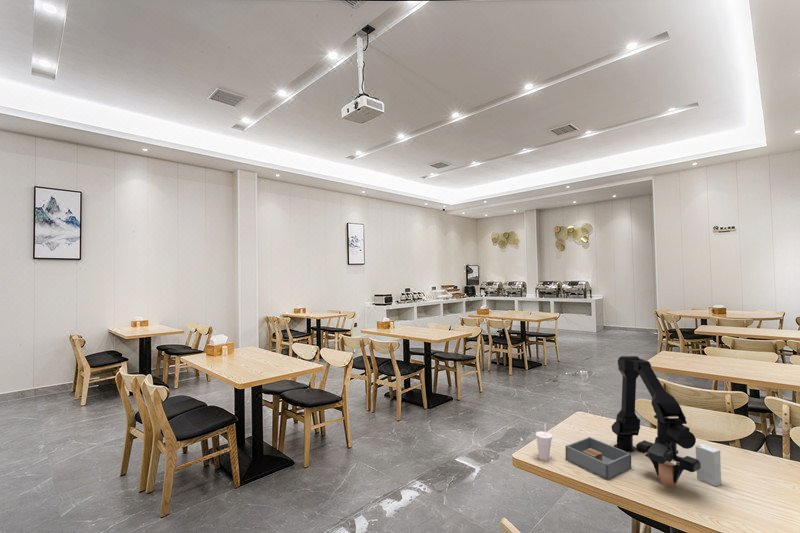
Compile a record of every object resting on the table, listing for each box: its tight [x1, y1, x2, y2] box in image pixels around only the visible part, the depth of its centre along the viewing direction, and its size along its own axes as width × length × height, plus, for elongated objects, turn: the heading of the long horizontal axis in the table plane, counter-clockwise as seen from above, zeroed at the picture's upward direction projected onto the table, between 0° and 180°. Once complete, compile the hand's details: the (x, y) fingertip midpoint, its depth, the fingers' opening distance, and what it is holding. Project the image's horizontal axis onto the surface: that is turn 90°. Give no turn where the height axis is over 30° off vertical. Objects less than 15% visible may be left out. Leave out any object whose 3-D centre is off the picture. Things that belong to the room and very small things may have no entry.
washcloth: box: [677, 444, 697, 459], centre depth 162 cm, size 12×18×3 cm, turn 142°
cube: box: [582, 448, 602, 461], centre depth 155 cm, size 5×5×5 cm
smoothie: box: [534, 423, 553, 462], centre depth 161 cm, size 6×6×14 cm
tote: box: [565, 436, 632, 481], centre depth 156 cm, size 15×17×6 cm
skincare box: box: [696, 443, 722, 487], centre depth 144 cm, size 6×4×12 cm
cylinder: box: [657, 461, 676, 489], centre depth 143 cm, size 5×5×7 cm
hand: (666, 479), depth 143 cm, fingers closed on cylinder, 5 cm apart
